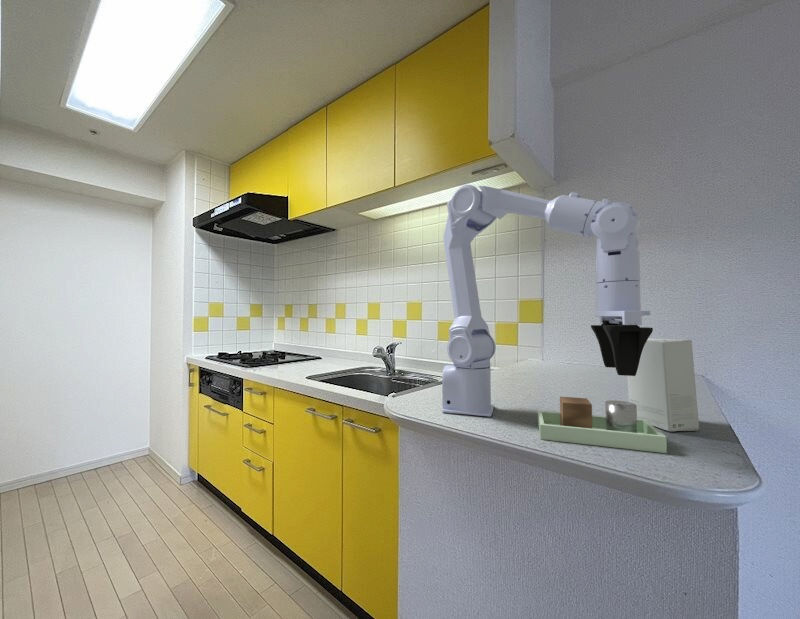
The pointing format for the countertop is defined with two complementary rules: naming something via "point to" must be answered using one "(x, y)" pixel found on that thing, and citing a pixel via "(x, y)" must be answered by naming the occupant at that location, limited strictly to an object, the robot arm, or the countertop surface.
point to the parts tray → (602, 434)
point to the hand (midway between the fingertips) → (619, 371)
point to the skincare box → (666, 385)
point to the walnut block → (575, 412)
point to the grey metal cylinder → (621, 416)
